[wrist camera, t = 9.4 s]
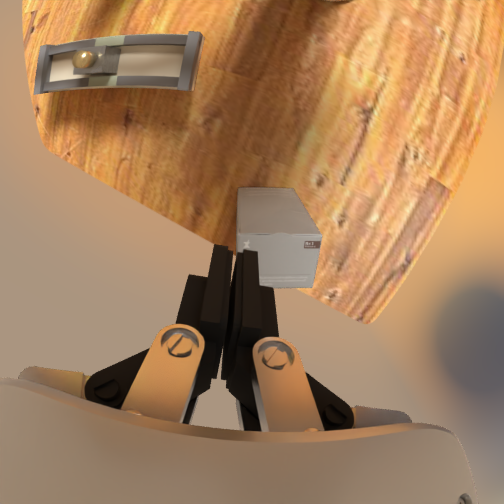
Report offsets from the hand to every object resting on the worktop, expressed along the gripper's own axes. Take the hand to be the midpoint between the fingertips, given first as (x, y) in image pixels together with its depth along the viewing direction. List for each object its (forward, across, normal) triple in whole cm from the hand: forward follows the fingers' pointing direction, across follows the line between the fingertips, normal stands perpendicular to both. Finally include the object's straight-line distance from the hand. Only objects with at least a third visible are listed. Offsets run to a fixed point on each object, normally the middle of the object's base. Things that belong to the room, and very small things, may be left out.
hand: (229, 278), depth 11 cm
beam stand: (+29, +18, -10) cm, 36 cm away
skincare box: (+29, -5, +8) cm, 31 cm away
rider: (+24, +19, -10) cm, 32 cm away
